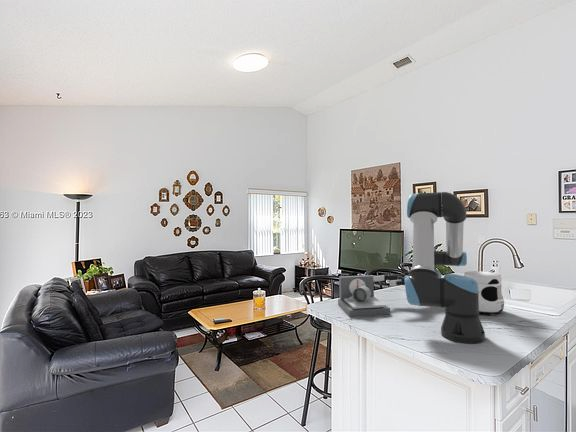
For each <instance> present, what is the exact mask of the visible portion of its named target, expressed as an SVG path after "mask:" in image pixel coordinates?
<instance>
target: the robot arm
mask: <svg viewBox="0 0 576 432" xmlns="http://www.w3.org/2000/svg"><path fill="white" fill-rule="evenodd" d="M406 206H407V208H406V216H407V218H409V220H410V222H412V224H413V226H412V229H413V230H412V235H413V236H412V264H411V265H412V268H411V269H410V270H408V271H406V272H405V273H404V274H399V273H398V274H396V273H395V274H383V273H382V274H381V275H375V276H374V275H372V276H373V282H374V283H375V282H385V281H389V287H398V286H399V287H401V286H405V287H404V288H405V295H406V301H407V303H408V304H409V305H412V306H418V307H429V308H431V307H433V308H442V309H445V310H444V311H445V312H444V313H445V314H444V318H443V321H442V323H441V327H440V334H441V336H443V337H444V338H446V339H448V340H449V341H454V342H459V343H463V344H478V343H479V344H480V343H483V342H485V340H486V333H485V330H484V327H483V324H482V321H481V319H480V313H479V297H478V294H479V291H478V283H477V281H476V280H474V279H473V278H470V277H466V276H464V275H461V274H456V273H446V274H444V275H443V277H442V274H441V271H440V270H439V269H438V268H437V266H447V267H448V266H449V267H452V266H453V267H464V266H467V264H468V262H467V252H466V251H464V226H465V225H464V224H465V223H464V222H465V221H466V219H467V209H466V206H465V204H464V203H463V201H462V200H461V199H460V198H459V196H456V195H455V194H453V193H451V192H448V191H441V192H440V191H438V192H437V191H436V192H418V193H411V194H410V195H409V197H408V199H407V204H406ZM438 218H443V220H444V221H445V240H446V241H445V242H446V243H445V244H446V246H445V249H446V250H445V251H443V250H437V249H436V248H435V232H434V230H435V226H434V225H435V224H436V222H437V221H438Z"/></svg>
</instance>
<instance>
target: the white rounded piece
mask: <svg viewBox="0 0 576 432" xmlns="http://www.w3.org/2000/svg"><path fill="white" fill-rule="evenodd" d="M463 276H466V277H470V278H473V279H474V280H476V281H477V283H478V291H479V294H478V297H479V314H484V315H485V314H489V315H490V314H492V315H493V314H494V315H495V314H499V313H501V312H503V311H504V309H505V300H504V296H503V293H502V287H503V285H502V276H501V274H500V273H497V272H492V271H480V270H474V271H473V270H469V271H465V272H464V275H463Z"/></svg>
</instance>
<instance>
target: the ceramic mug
mask: <svg viewBox="0 0 576 432" xmlns="http://www.w3.org/2000/svg"><path fill="white" fill-rule="evenodd" d="M370 296H371V291H370V289H369V288H368V287H366V286H361V287H358V288H356V289H355V290H354V291H353V293H352V296H351V297H349V300H353V299H354V300H355V301H356V302H357V303H364V302H365V301H367V300H368V299H369V298H370Z"/></svg>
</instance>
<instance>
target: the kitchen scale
mask: <svg viewBox="0 0 576 432" xmlns="http://www.w3.org/2000/svg"><path fill="white" fill-rule="evenodd" d="M373 276H374V275H373V274H366V275H365V274H363V275H346V276H345V275H343V276H342V275H341V276H339V277H338V279H339V281H338V282H339V283H338V284H339V285H338V288H339V289H338V290H339V298H338V299H337V305H338V306H339V308H341V310H343V312H344V313H345V314H346V315H347V316H348V317H349V318H353V317H370V316H371V317H372V316H385V315H386V316H389V315H391V308H390V307H389V306H388V305H387V304H385V303H384V302H382V301H381V300H380V299H378V298H376V297H375V292H374V291H375V286H374V284H375V282H373ZM361 286H366V287H368V288H369V289H370V291H371V296H370V298H369V299H368V300H367V301H365V302H364V303H357V302H356V301H355V300H354V299H353V300H349V297H351V296H352V293H353V291H354V290H355V289H356V288H358V287H361Z"/></svg>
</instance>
